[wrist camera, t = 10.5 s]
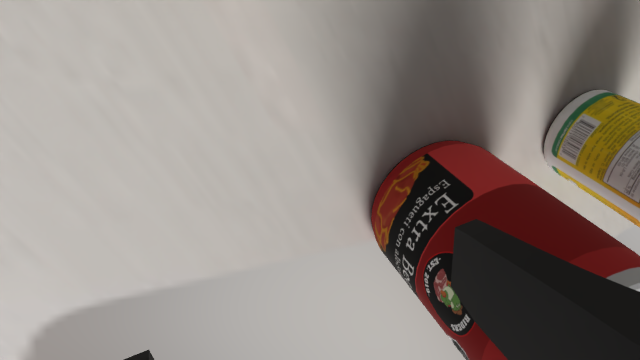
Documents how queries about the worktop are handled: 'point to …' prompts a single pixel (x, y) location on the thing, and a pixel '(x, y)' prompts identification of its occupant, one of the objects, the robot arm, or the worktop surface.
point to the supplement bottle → (599, 149)
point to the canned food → (489, 207)
